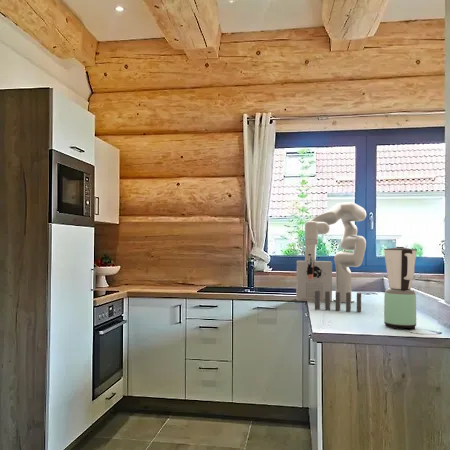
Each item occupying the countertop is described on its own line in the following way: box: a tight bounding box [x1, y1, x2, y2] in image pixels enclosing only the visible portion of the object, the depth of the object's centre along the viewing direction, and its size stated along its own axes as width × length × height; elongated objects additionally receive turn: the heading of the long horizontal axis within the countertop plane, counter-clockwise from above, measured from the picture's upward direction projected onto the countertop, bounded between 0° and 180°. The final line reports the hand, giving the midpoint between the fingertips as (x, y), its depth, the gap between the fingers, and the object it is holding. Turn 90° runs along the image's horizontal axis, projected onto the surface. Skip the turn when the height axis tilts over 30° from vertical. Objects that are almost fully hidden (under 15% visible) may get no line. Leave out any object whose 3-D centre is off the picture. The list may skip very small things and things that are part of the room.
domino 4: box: [334, 291, 341, 312], centre depth 247 cm, size 5×2×10 cm, turn 160°
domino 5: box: [345, 291, 352, 313], centre depth 245 cm, size 5×2×10 cm, turn 160°
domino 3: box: [324, 291, 331, 311], centre depth 249 cm, size 5×2×10 cm, turn 160°
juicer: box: [383, 246, 418, 331], centre depth 197 cm, size 19×13×35 cm
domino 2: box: [314, 290, 321, 311], centre depth 251 cm, size 5×2×10 cm, turn 160°
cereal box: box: [295, 260, 333, 303], centre depth 290 cm, size 22×8×25 cm, turn 84°
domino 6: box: [356, 291, 362, 313], centre depth 243 cm, size 5×2×10 cm, turn 160°
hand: (310, 273), depth 263 cm, fingers closed on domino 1, 4 cm apart
